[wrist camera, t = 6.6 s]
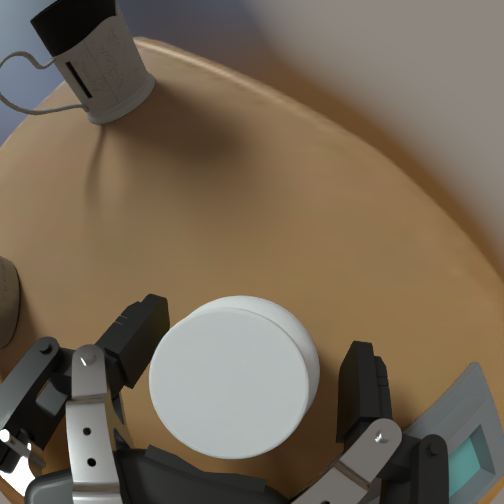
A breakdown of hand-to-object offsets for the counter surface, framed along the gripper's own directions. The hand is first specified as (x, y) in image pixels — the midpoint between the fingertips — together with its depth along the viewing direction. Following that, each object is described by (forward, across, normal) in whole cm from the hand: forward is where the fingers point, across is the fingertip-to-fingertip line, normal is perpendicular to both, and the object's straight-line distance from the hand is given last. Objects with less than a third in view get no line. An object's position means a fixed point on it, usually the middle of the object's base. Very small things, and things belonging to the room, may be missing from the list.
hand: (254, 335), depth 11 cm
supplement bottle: (+3, 0, +4) cm, 5 cm away
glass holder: (+15, +21, -9) cm, 28 cm away
